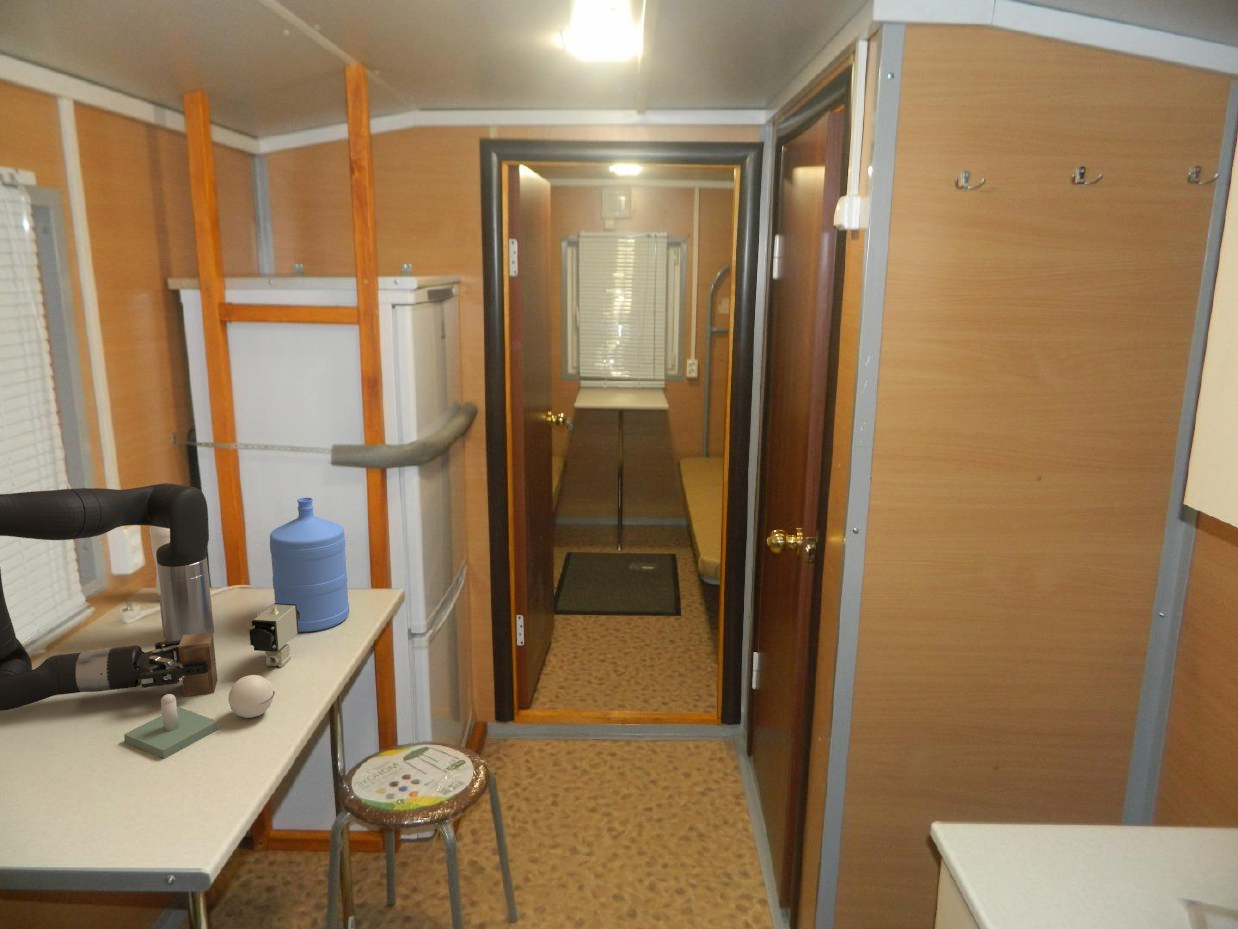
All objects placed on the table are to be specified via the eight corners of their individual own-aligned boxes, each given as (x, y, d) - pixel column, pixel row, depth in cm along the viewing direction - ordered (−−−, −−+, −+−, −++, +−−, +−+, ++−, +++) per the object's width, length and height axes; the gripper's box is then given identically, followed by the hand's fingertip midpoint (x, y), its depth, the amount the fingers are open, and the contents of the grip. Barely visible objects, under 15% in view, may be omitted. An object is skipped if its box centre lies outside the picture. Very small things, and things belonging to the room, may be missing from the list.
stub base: (125, 742, 137) (119, 700, 136) (179, 714, 146) (175, 675, 144) (164, 758, 133) (159, 716, 131) (218, 729, 142) (214, 689, 140)
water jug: (335, 634, 179) (327, 510, 172) (263, 632, 179) (253, 508, 173) (358, 605, 194) (352, 491, 188) (292, 604, 194) (283, 489, 188)
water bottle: (198, 593, 199) (187, 494, 193) (173, 604, 192) (161, 501, 187) (175, 589, 201) (164, 490, 196) (150, 600, 195) (137, 498, 189)
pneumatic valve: (303, 650, 171) (299, 596, 168) (275, 677, 160) (270, 620, 157) (278, 649, 172) (273, 595, 169) (247, 675, 160) (242, 618, 157)
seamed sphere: (255, 729, 142) (251, 690, 140) (220, 721, 144) (216, 683, 142) (294, 701, 151) (291, 665, 149) (261, 694, 153) (258, 658, 152)
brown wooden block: (184, 696, 152) (178, 646, 150) (188, 683, 157) (183, 635, 154) (213, 692, 154) (208, 643, 151) (217, 680, 158) (212, 632, 156)
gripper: (97, 667, 142) (203, 655, 147) (117, 633, 155) (214, 623, 160) (102, 707, 144) (207, 694, 149) (122, 669, 157) (218, 658, 162)
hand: (210, 657), depth 154 cm, fingers open, 7 cm apart
